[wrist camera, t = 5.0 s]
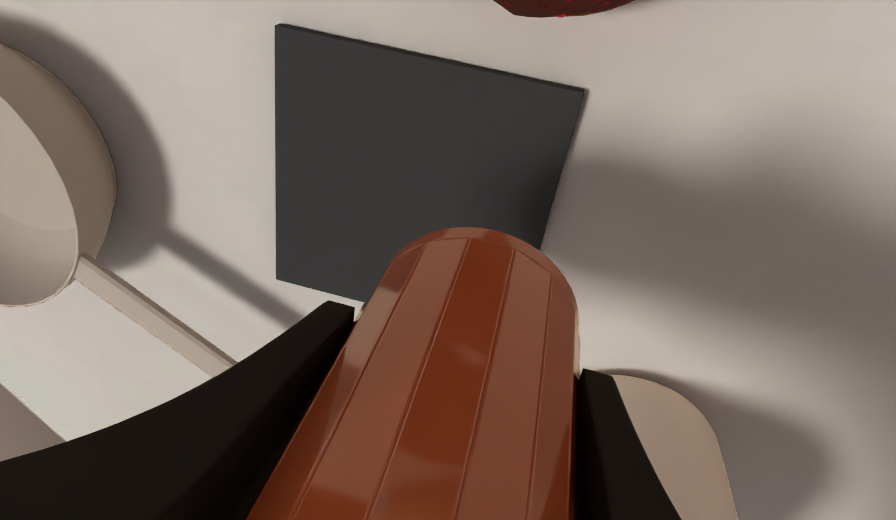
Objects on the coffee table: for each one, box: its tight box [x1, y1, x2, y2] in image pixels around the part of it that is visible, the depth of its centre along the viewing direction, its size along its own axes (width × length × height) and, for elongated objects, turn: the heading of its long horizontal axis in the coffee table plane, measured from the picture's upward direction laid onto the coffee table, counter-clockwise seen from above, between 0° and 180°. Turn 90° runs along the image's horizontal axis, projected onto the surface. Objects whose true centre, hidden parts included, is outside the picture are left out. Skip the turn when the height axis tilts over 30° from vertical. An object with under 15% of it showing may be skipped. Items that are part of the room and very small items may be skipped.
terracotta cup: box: [240, 227, 580, 520], centre depth 11 cm, size 5×5×8 cm
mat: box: [275, 24, 585, 302], centre depth 21 cm, size 10×10×1 cm
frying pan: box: [0, 44, 238, 378], centre depth 22 cm, size 11×18×4 cm, turn 55°
